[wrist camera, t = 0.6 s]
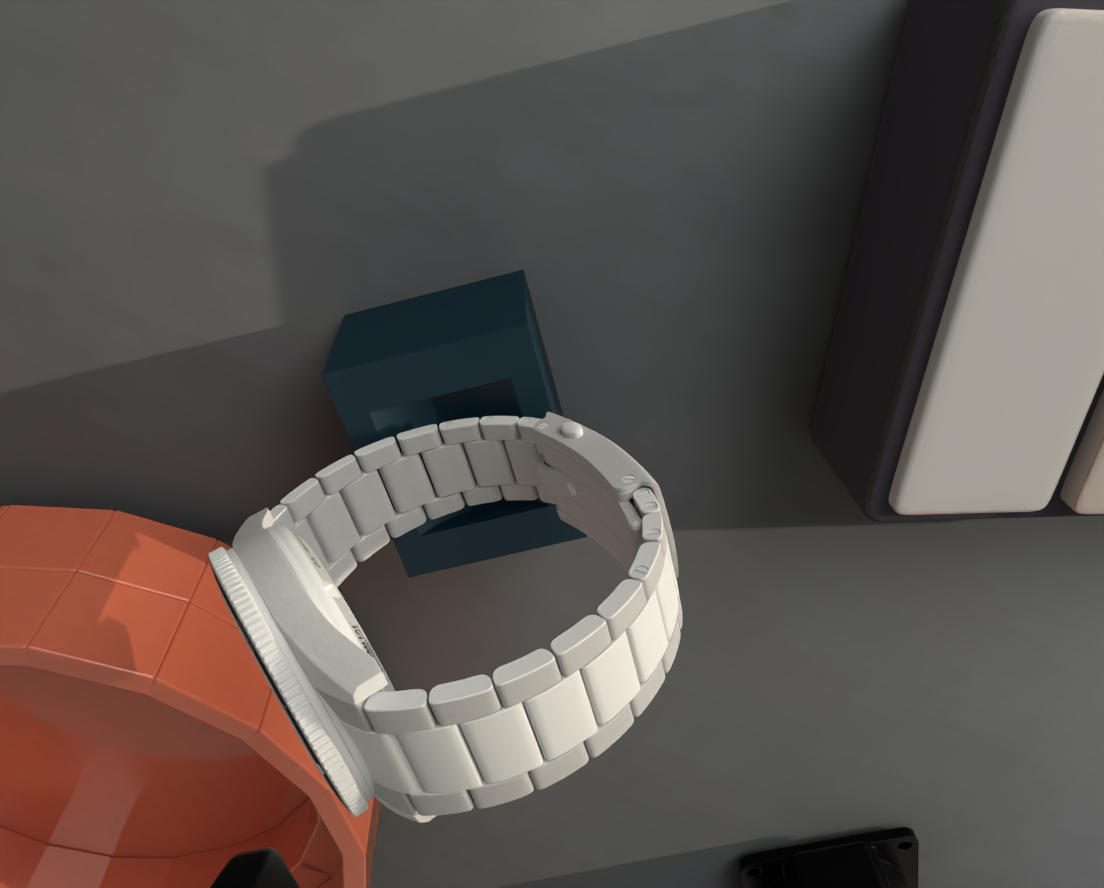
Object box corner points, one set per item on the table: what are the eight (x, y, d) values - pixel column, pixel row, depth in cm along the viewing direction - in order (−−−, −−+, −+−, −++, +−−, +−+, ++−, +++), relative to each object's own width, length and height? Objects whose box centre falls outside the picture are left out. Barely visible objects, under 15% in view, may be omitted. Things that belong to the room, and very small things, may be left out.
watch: (265, 335, 20) (65, 689, 11) (597, 250, 20) (689, 549, 10) (350, 520, 23) (249, 928, 14) (642, 452, 23) (746, 829, 13)
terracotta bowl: (448, 823, 30) (439, 989, 25) (13, 904, 31) (-73, 1079, 26) (274, 434, 22) (213, 575, 17) (-314, 562, 23) (-526, 729, 18)
